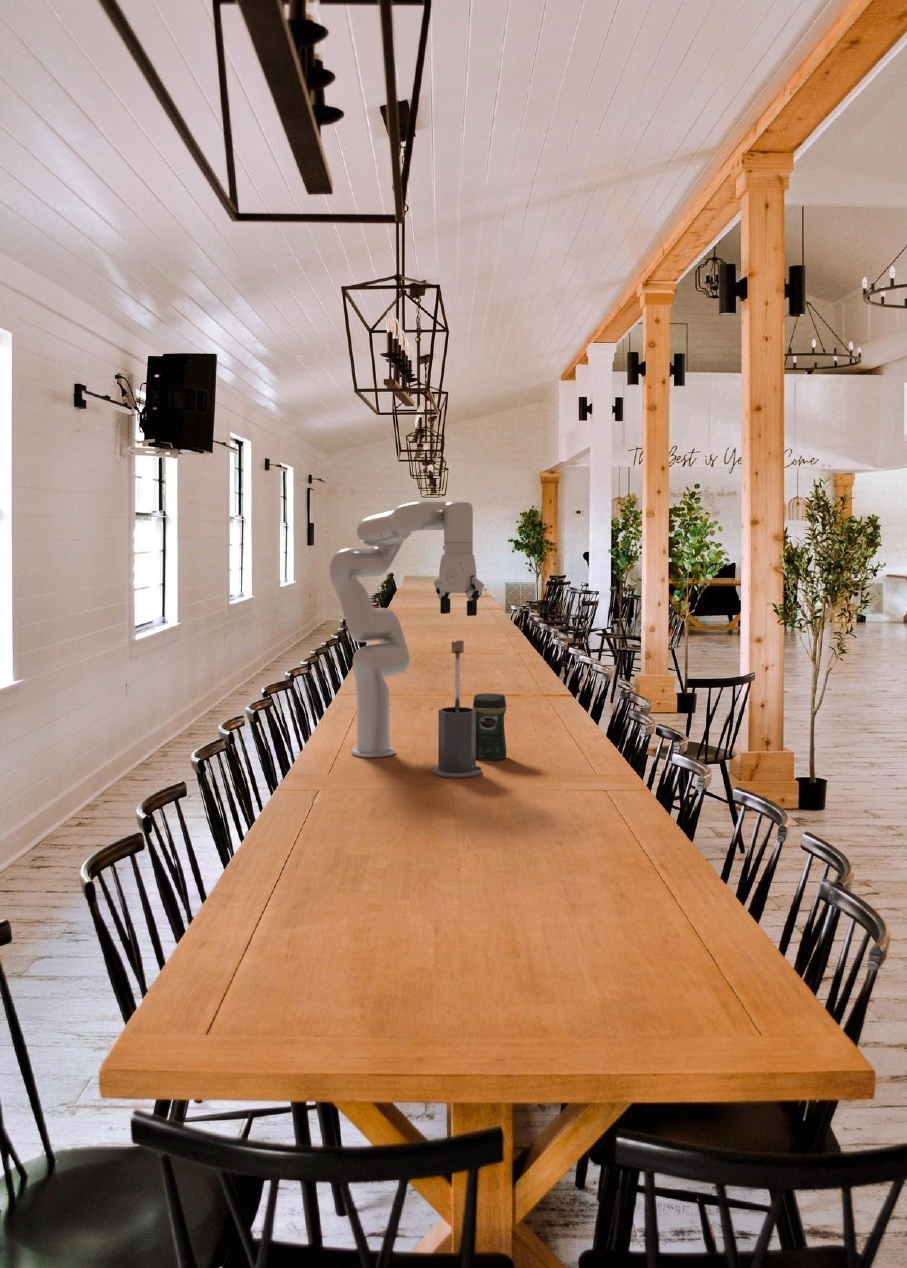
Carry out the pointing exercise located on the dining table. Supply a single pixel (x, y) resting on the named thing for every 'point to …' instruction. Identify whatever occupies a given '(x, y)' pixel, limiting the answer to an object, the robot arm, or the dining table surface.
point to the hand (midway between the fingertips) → (458, 614)
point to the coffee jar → (490, 726)
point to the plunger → (457, 670)
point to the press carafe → (457, 744)
